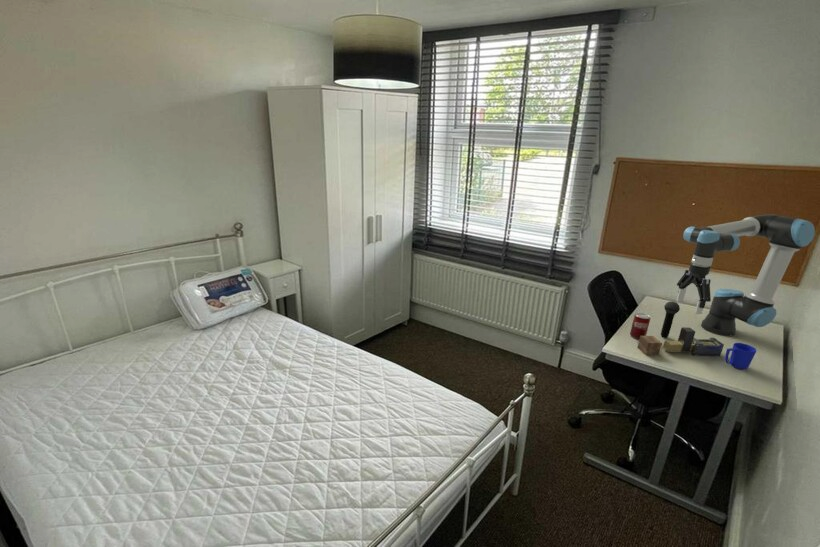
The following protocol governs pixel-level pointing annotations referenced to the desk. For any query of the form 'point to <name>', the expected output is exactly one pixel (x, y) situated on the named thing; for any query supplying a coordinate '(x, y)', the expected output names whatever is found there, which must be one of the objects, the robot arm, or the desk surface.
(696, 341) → the sleeve
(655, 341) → the socket
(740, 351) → the mug
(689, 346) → the hammer
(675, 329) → the desk surface
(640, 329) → the soda can
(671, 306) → the microphone
